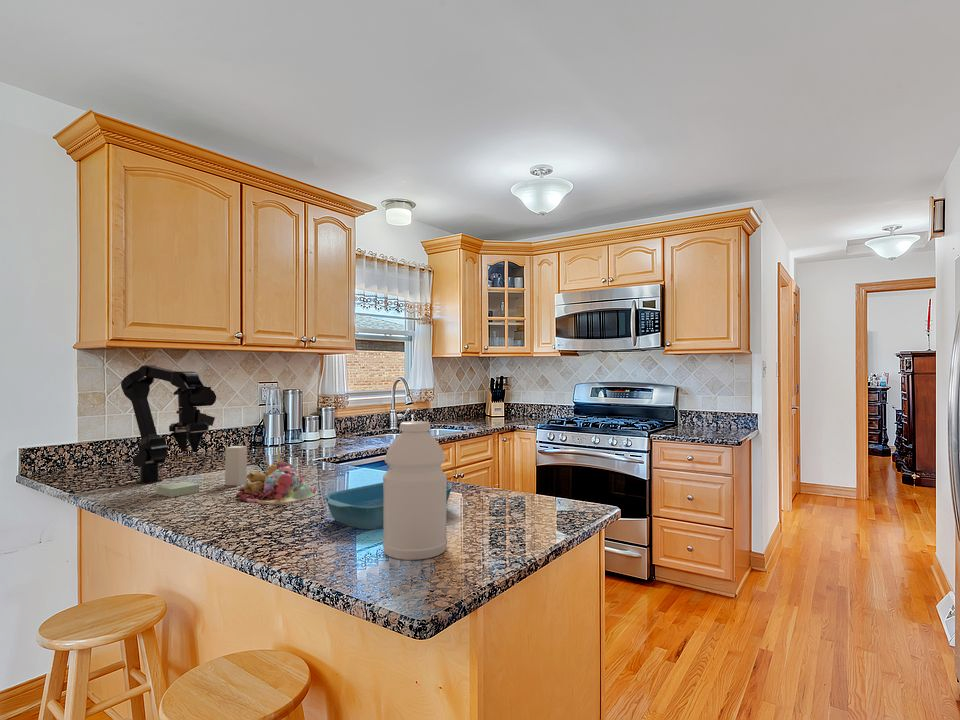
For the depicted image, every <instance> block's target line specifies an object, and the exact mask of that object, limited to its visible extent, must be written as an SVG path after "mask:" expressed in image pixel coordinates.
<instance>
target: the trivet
mask: <svg viewBox="0 0 960 720" xmlns="http://www.w3.org/2000/svg"><path fill="white" fill-rule="evenodd" d="M197 493H200V484H199V483H193V482H189V481H181V482H173V483H168V484H163V485H162V484H161V485H157V486H156V495H159V496H163V495H164V496H163V497H167V496H168V498H175V496H176V497H181V496H185V495H191V494H197ZM180 495H181V496H180Z"/></svg>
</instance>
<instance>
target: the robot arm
mask: <svg viewBox="0 0 960 720" xmlns="http://www.w3.org/2000/svg"><path fill="white" fill-rule="evenodd" d="M156 379H157V380H161V381H165V382H169V383H170V385H172V386H174V387H176V388H177V389H176V390H175V391H174V392H173V395H174V396H177V402H178V410H176V414H178V422H175V423H174V422H173V423H171V424H170V425H169V426H168V431H169V432H170V434H171V435H172V436H173V439H174V440H175V442H176V444H178V445H177V446H178V447H179V448H180V450H181V452H182V453H183V452H186V451H187V445H188V443H189V445H190V448H191V451H192V453H197V452H198V449H199V445H200V442H201V441H200V440H201V438H202V436H203V435H204V434H206V433H208V431H209V430H210V429H209V427H210V426H211V427H212V426H213V425H214V423H215V419H216V417H215V416H211V415H207V413H202V412H201V410H200V409H199V408H198V407H210V406H213V405H214V404H216V401H217V395H216V393H215V391H214V390H213V389H212V386H211V385H206V386H205V384H204V383H203V381H202V379H201V378H200V376H199V374H198V372H197V371H177V370H173V369H169V368H165V367H164V368H163V367H160V366H158V365H157V366H156V365H153V364H152V365H150V364H148V365H147V364H145V365H142V366H140V367H139V368H138V369H137V370H134V371H133V372H130V373H129V374H127V375H126V376H125V377H124V378H123V379H122V381H121V382H120V387H121V390H122V392H123V394H124V396H125V397H126V398H127V399H128V400H130V401H131V405H132V409H133V412H134V416H135V420H136V424H137V427H138V430H139V435H140V442H139V444H138V453H137V454H136V455H135V457H134V458H133V460H132V462H133V466H134V467H139V479H136V480H135V483H140V484H149V483H155V482H162V481H163V479H162V478H159V467H160V466H159V464H164V463H165V462H166V457H167V455H168V448H169V447H168V444H167V441H166V438H165V437H164V436H163V437H161V436H159V434H158V433H157V429H156V426H155V422H154V419H153V414H152V411H151V408H150V403H149V400H148V396H149V394H150V391H151V389H150V388H151V387H150V386H151V385H152V384H153V383H154V381H155V380H156ZM187 442H188V443H187Z"/></svg>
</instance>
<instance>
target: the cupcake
mask: <svg viewBox="0 0 960 720" xmlns="http://www.w3.org/2000/svg"><path fill="white" fill-rule="evenodd" d="M277 450H278V451H277V458H278V461H277V462H274V463H273V464H271V465H277V467H276V468H277V470H278V469H279V468H280V467H281V468H283V467H287V466H290V468H293V469H294V466H293V465H292V464H291V463H290V462H286V461H281V451H280V449H279V448H278V449H277Z"/></svg>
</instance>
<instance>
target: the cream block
mask: <svg viewBox="0 0 960 720" xmlns="http://www.w3.org/2000/svg"><path fill="white" fill-rule="evenodd" d="M247 462H248V447H247V445H233V446H228V447H225V466H224V467H225V469H224V470H225V472H224V473H225V475H224V479H225V481H224V483H225V484H224V485H225V486H242V485H243V484H244V485H245V484H246V483H248V482H247V480H248V478H247V477H246V476H247V475H248V474H247V472H248V471H247V469H248V465H247V464H248V463H247Z"/></svg>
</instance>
